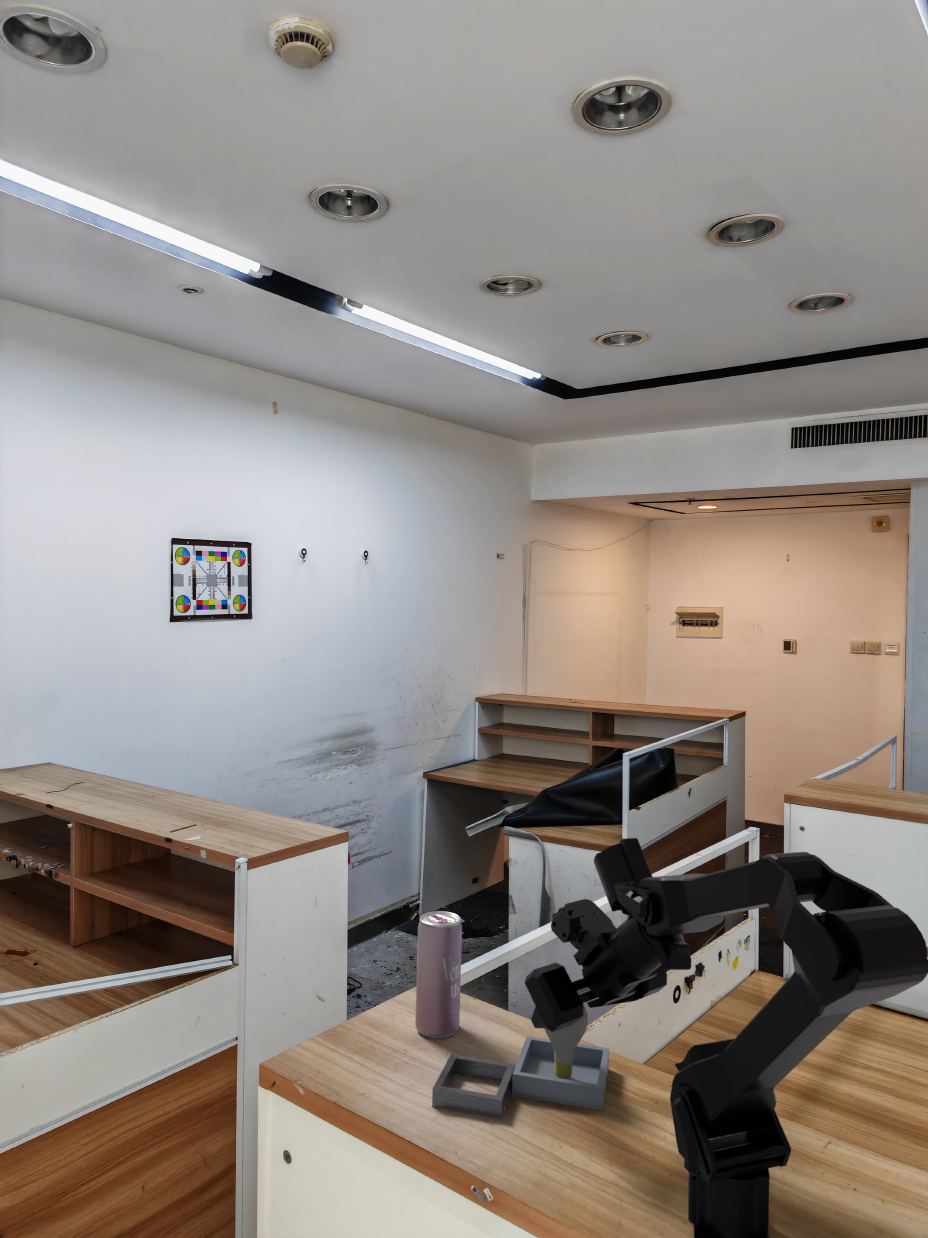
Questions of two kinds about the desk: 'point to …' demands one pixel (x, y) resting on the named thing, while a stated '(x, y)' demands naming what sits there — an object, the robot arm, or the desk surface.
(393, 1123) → the desk surface
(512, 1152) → the desk surface
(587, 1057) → the parts tray
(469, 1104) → the frame
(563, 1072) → the light bulb
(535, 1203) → the desk surface
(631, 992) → the robot arm
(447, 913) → the beverage can
